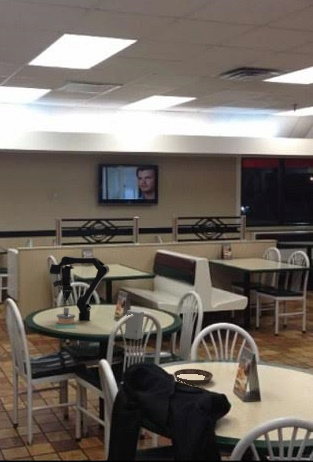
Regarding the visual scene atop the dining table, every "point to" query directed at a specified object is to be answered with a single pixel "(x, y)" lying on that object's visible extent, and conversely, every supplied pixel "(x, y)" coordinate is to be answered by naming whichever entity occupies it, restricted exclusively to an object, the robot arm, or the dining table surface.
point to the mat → (64, 326)
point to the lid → (66, 314)
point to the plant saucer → (194, 371)
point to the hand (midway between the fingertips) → (65, 299)
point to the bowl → (65, 320)
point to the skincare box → (134, 325)
